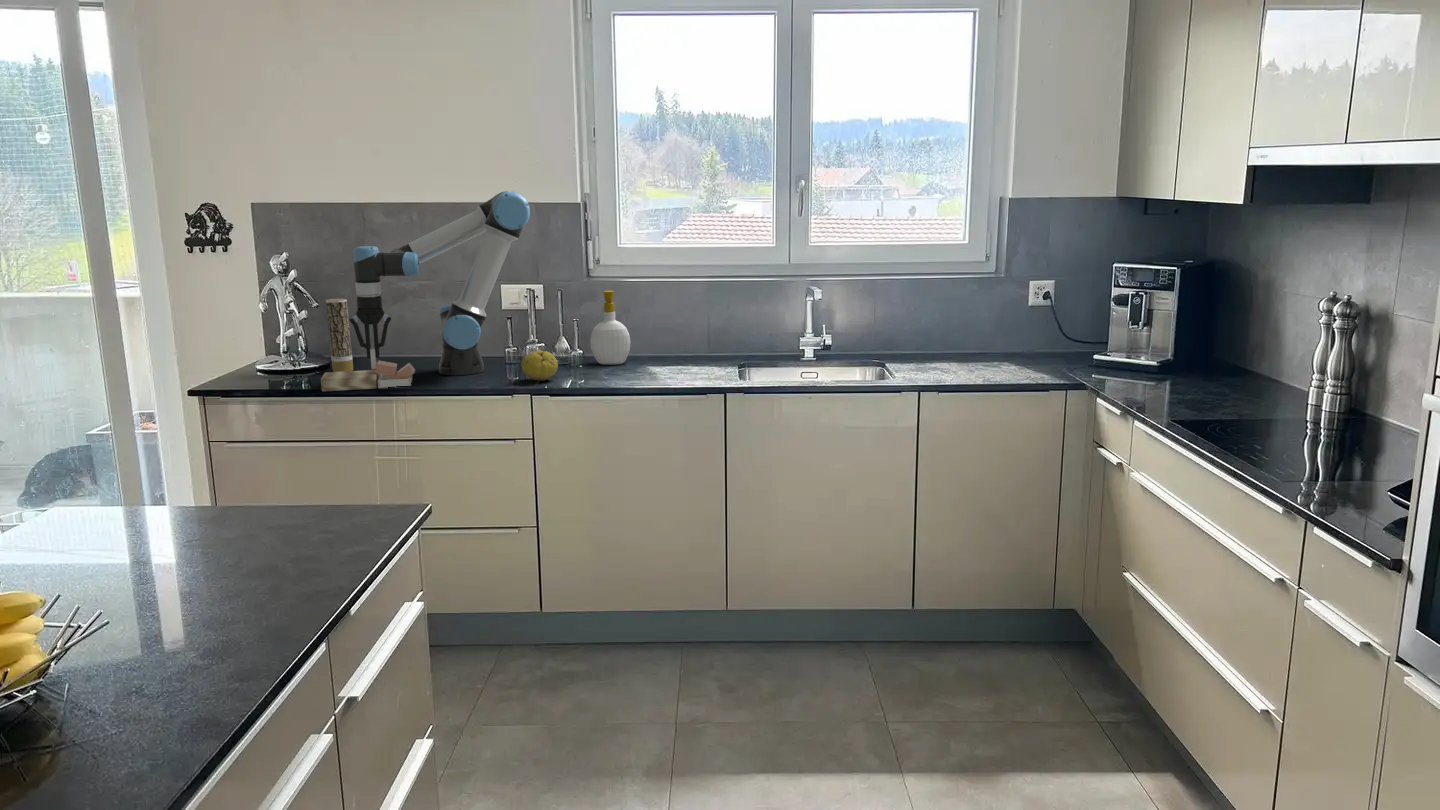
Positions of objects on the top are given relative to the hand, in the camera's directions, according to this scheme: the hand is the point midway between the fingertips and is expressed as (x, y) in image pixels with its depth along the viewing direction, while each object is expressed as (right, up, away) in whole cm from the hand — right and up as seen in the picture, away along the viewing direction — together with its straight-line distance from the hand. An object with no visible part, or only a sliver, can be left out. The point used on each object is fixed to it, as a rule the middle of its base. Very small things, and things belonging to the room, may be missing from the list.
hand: (374, 368), depth 325 cm
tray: (+6, -5, +3) cm, 8 cm away
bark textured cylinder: (-19, -1, +24) cm, 30 cm away
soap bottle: (+73, +3, +34) cm, 81 cm away
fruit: (+53, -4, +5) cm, 53 cm away
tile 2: (+8, 0, +2) cm, 8 cm away
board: (-7, -6, 0) cm, 9 cm away
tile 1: (+3, -1, +1) cm, 4 cm away
